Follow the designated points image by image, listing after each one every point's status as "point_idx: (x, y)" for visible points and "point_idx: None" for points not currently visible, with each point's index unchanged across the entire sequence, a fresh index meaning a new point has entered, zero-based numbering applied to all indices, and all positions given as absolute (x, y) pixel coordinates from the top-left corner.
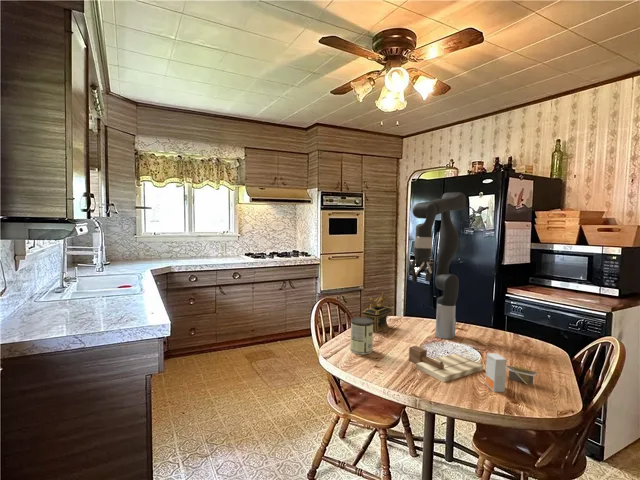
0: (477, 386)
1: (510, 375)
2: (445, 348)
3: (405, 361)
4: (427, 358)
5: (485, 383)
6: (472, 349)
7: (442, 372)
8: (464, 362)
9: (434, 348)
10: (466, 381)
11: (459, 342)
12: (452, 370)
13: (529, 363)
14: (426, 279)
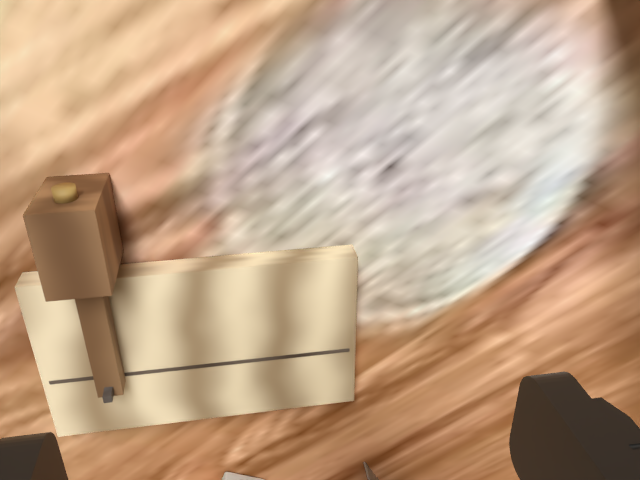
0: (181, 472)
1: (368, 477)
2: (437, 114)
3: (17, 177)
4: (85, 316)
5: (223, 477)
6: (561, 192)
7: (86, 403)
8: (294, 357)
9: (371, 83)
10: (173, 436)
11: (620, 70)
12: (155, 400)
13: (595, 396)
14: (540, 422)
